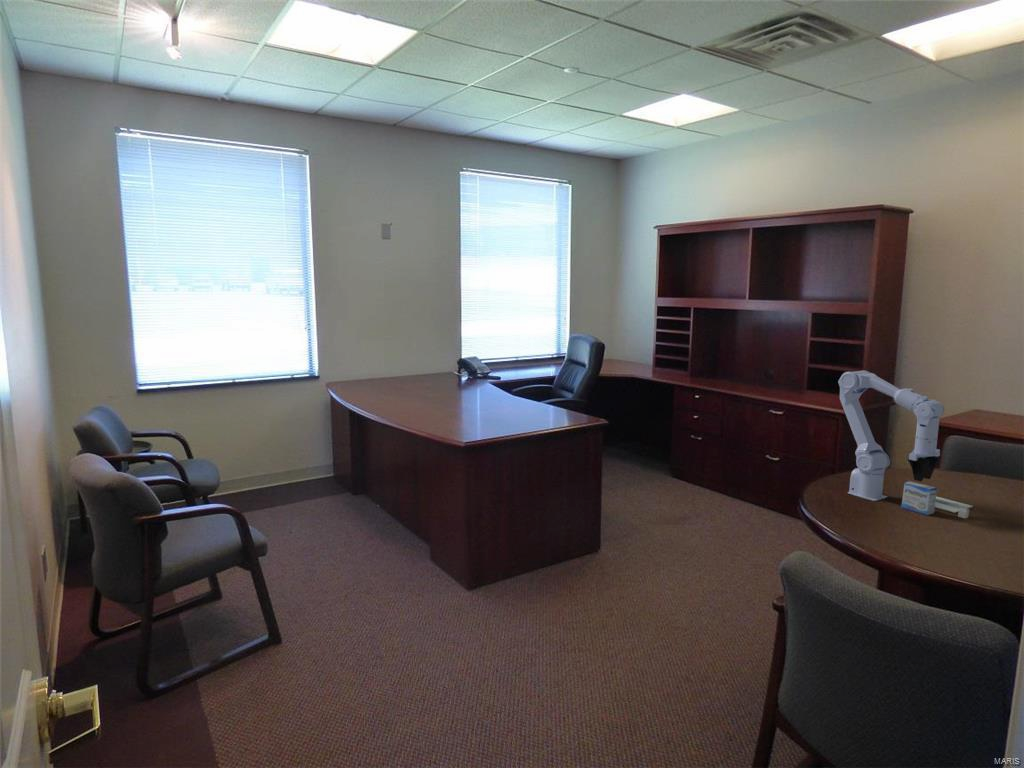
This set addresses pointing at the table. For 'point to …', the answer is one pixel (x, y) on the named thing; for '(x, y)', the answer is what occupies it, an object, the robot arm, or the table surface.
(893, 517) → the table surface
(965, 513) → the gray bar handle
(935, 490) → the medicine box
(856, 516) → the table surface
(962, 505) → the grey bar
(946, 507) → the sage mat
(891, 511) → the table surface
